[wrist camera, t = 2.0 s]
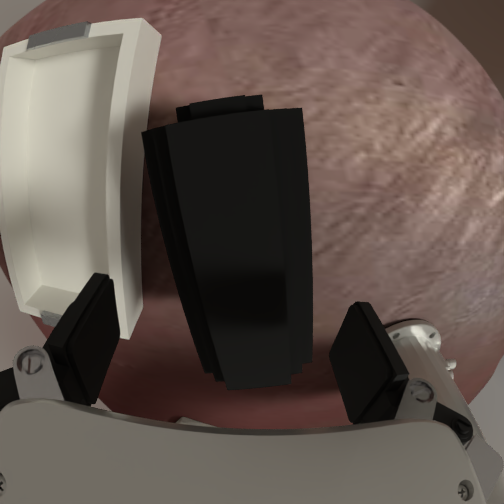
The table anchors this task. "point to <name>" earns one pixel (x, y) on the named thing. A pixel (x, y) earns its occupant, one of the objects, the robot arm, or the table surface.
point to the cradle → (75, 163)
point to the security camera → (238, 235)
